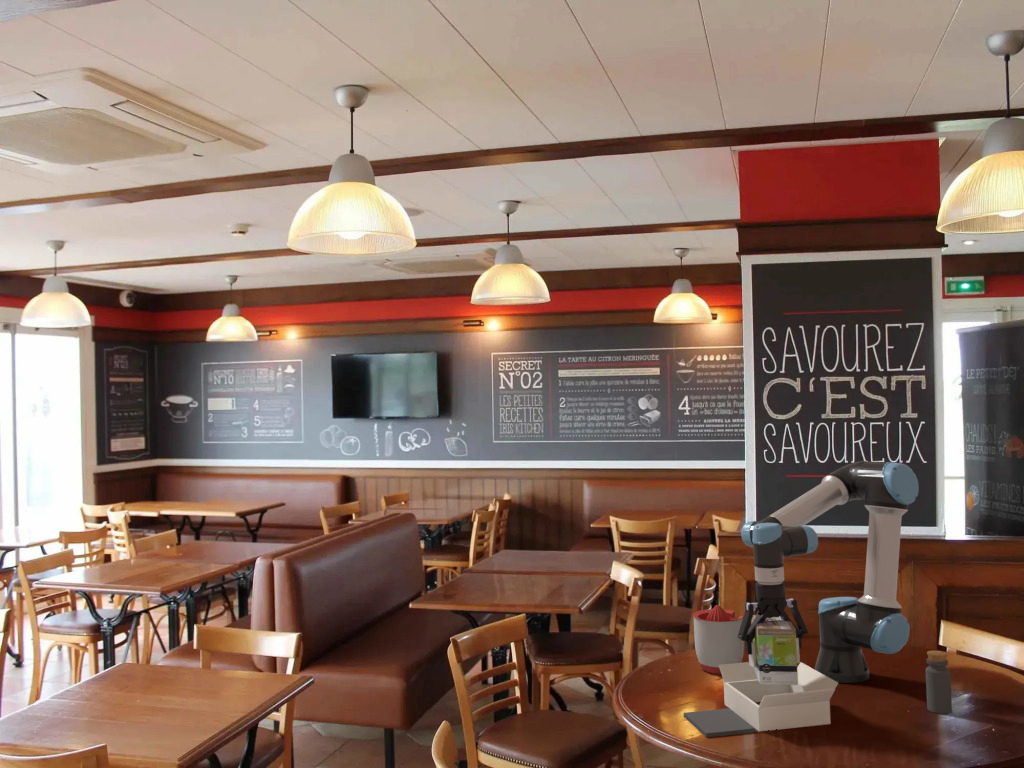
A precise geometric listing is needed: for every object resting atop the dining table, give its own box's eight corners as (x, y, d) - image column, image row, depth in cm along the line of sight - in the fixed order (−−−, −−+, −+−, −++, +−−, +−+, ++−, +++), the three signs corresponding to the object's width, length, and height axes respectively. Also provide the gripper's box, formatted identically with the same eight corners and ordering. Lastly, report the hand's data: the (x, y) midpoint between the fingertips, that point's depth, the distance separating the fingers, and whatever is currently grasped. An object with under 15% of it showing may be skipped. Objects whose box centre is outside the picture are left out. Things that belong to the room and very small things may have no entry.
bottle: (950, 707, 225) (947, 650, 226) (953, 715, 220) (950, 656, 220) (925, 705, 227) (923, 649, 228) (929, 713, 222) (926, 655, 222)
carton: (795, 692, 241) (793, 657, 241) (849, 727, 214) (847, 687, 214) (719, 700, 237) (718, 664, 237) (765, 736, 210) (763, 695, 210)
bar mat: (729, 711, 227) (729, 708, 227) (755, 732, 213) (754, 728, 213) (683, 716, 225) (683, 712, 225) (706, 737, 210) (706, 733, 210)
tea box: (799, 685, 217) (796, 627, 218) (759, 685, 219) (756, 628, 219) (790, 667, 232) (787, 613, 232) (752, 667, 234) (749, 613, 234)
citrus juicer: (760, 673, 259) (758, 607, 260) (708, 679, 255) (705, 612, 256) (735, 659, 274) (733, 597, 275) (686, 664, 270) (683, 601, 271)
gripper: (733, 588, 220) (738, 672, 220) (818, 580, 225) (823, 663, 224) (721, 583, 228) (726, 664, 227) (804, 575, 232) (808, 655, 231)
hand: (774, 663), depth 226 cm, fingers closed on tea box, 12 cm apart
